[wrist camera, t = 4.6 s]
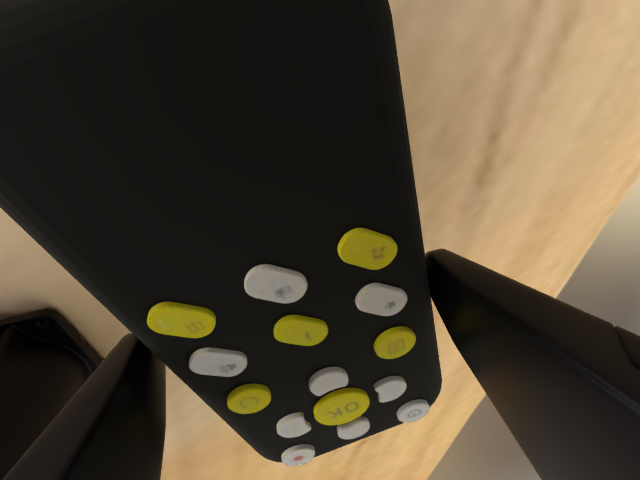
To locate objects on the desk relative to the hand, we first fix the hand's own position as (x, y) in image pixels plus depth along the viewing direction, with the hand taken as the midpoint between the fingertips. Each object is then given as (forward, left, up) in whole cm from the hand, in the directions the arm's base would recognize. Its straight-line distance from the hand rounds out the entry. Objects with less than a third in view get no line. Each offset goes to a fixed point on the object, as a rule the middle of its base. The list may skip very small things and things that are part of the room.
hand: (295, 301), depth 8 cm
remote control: (0, 0, -1) cm, 1 cm away
